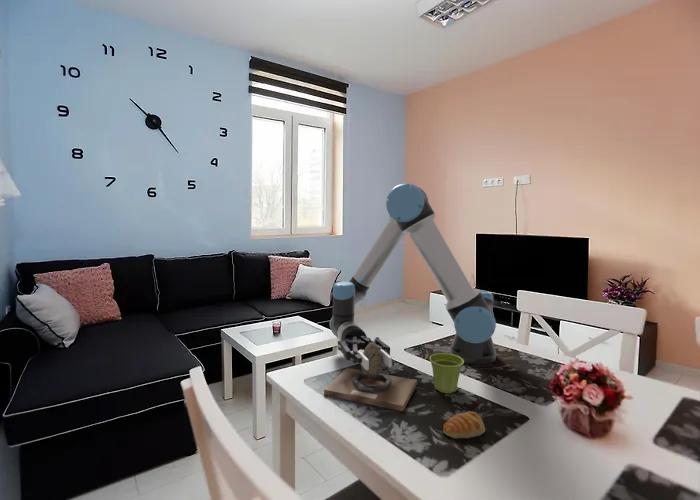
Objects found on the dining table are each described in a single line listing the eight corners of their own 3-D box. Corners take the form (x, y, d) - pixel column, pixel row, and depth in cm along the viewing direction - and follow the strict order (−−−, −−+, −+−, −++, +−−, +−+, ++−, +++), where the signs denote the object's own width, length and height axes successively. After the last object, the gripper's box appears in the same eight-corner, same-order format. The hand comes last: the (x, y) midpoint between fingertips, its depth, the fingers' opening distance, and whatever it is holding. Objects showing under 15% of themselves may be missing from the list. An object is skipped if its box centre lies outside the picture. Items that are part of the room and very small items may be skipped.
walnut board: (416, 385, 112) (416, 379, 112) (402, 411, 97) (403, 404, 97) (346, 372, 120) (346, 367, 120) (324, 394, 105) (324, 388, 105)
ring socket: (394, 380, 111) (394, 375, 111) (383, 395, 102) (383, 390, 102) (361, 374, 115) (361, 369, 115) (348, 388, 106) (348, 383, 105)
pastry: (455, 445, 83) (456, 428, 83) (435, 429, 89) (435, 414, 89) (487, 434, 88) (488, 418, 87) (466, 420, 94) (466, 405, 93)
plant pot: (464, 398, 104) (465, 367, 103) (428, 394, 106) (429, 364, 105) (461, 383, 113) (462, 354, 112) (428, 380, 115) (429, 352, 114)
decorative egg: (356, 378, 107) (357, 343, 106) (367, 371, 112) (368, 338, 111) (375, 384, 104) (376, 348, 103) (385, 376, 109) (386, 342, 108)
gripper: (378, 345, 128) (410, 373, 106) (323, 350, 122) (345, 381, 100) (379, 323, 127) (411, 346, 105) (323, 327, 121) (345, 353, 99)
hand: (379, 363), depth 103 cm, fingers closed on decorative egg, 6 cm apart
